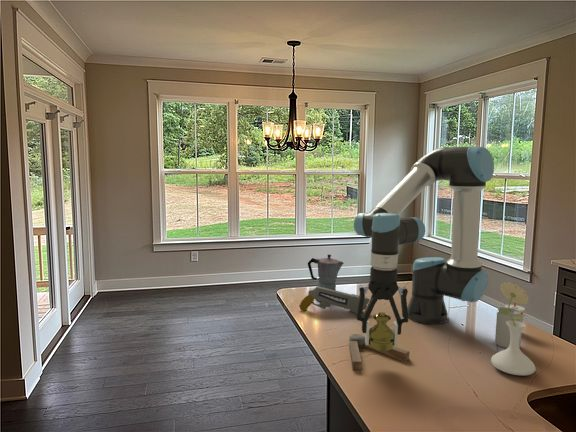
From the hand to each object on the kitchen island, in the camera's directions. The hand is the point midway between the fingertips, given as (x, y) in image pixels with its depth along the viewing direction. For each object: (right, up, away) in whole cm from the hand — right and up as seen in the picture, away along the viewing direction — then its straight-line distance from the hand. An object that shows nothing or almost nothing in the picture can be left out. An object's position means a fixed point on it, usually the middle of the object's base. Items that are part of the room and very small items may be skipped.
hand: (380, 343), depth 122 cm
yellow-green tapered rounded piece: (0, -1, 0) cm, 1 cm away
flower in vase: (+37, -7, -1) cm, 38 cm away
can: (+45, -5, +15) cm, 47 cm away
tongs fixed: (-5, -6, +7) cm, 10 cm away
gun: (-9, -1, +46) cm, 46 cm away
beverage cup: (+53, -4, +26) cm, 59 cm away
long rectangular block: (+4, -5, +8) cm, 11 cm away
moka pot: (-11, +1, +60) cm, 61 cm away
